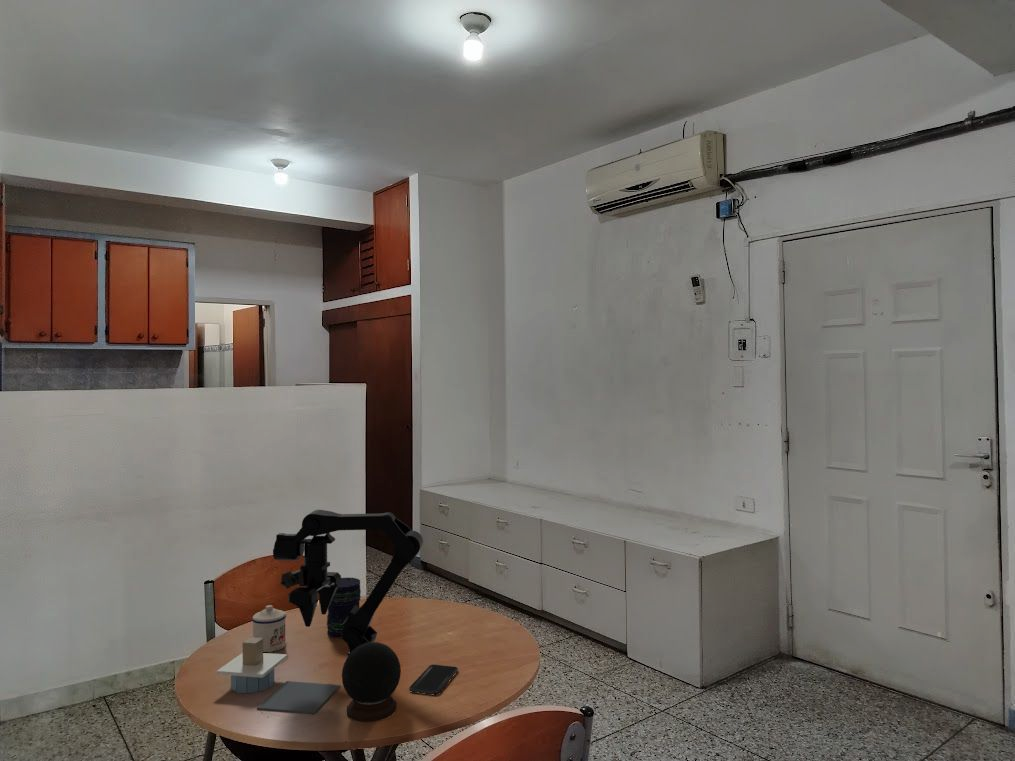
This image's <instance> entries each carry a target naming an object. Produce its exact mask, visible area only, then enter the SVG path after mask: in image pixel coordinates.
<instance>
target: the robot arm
mask: <svg viewBox="0 0 1015 761" xmlns="http://www.w3.org/2000/svg"><path fill="white" fill-rule="evenodd" d="M367 530H368V531H369V530H371V531H372V530H374V531H375V530H376V531H377V530H378V531H379V530H380V531H381V530H382V531H383V533H385V534H386V535H387V537H388V539H389V540H390V541H391V542H392V543H393V544H394V546H396V547H395V550H394V552H393V554H392V557H391V560H390V563H389V564H388V565H387V567H386V569H385V570H384V572H383V574H382V575H381V576H380V578H379V580H377V583H376V584H375V586H374V587H373V588H372V590H371V592H370V594H369V596H368V597H367V598H366V600H365V601H364V603H363V604H362V605H360V608H359V607H357V606H356V605H355V606H354V608H353V609H352V611H351V612H350V614H349V616H348V617H347V618H346V620H345V621H344V623H343V624H342V626H344V627H343V629H342V632H341V634H342V638H341V639H342V640H343V641H344V642H345V643H346V644H347V646H348V649H349V650H348V651H349V652H348V653H347V657H348V656H349V654H350V653H351V652H352V651H353V650H354V649H355V648H357V647H358V646H360V645H362V644H365V643H369V642H376V639H377V636H378V632H377V631H376V629H375V628H373V627H372V626H371V624H372V621H373V619H374V616H375V613H376V611H377V610H378V608H379V606H380V605H381V603H382V602H383V600H384V599H385V597H386V596H387V594H388V593H389V591H390V589H391V588H392V586H393V585H394V583H395V581H396V580H397V578H398V577H399V575H400V573H401V572H402V571H403V570H404V569H405V568H406V567H407V565H409V564H410V563H411V562H412V561H413V559H415V558H416V557H417V555H418V554H419V553H420V550H421V549H422V548H423V544H424V539H423V536H422V534H420V533H419V532H418V531H416V530H412V529H411V528H410V527H409V526H408V525H407V524H406V523H404V522H403V521H402V520H400V519H398V518H397V517H396V516H395V514H394V513H392V512H390V511H389V512H388V511H387V512H383V513H382V512H381V513H376V512H375V513H337V512H334V511H331V510H325V509H315V510H313V511H311V512H310V513H308V514H306V515H305V516H304V517H303V519H302V522H301V528H300V529H299V531H297V533H285V532H284V533H283V532H279V533H278V534H276V535H275V536H276V538H275V540H274V541H275V542H274V545H273V549H272V557H273V560H275V561H298V560H299V559H300V557H304V560H303V563H304V564H302V565H300V569H298V570H294V571H292V572H291V571H290V570H289V571H288V572H285V573H283V574H281V578H280V580H281V581H280V585H282V586H283V587H284V588H285V589H286V590H287V589H290V588H292V587H295V586H296V585H298V587H296V588H295V589H292V590H291V591H290V592H289V594H287V595H288V600H287V601H288V603H289V604H290V603H291V605H293V606H296V607H297V608H298V609H299V612H300V614H301V618H302V620H303V623H304V625H305V627H308V628H309V627H311V625H312V623H313V622H312V621H313V618H314V616H315V612H316V609H317V605H318V601H319V605H320V606H319V607H320V613H321V615H326V614H328V608H329V606H330V603H331V601H332V599H333V597H334V594H335V592H336V590H337V588H338V587H339V585H338V584H340V583H341V578H342V575H341V574H340V573H339V572H336V571H328V568H330V567H331V561H328V544H329V545H331V544H332V543H334V542H335V541H336V537H334V536H332V535H331V534H330V533H333V532H337V531H367ZM308 537H312V538H308ZM334 584H335V585H334ZM318 597H319V598H318ZM318 599H319V600H318Z"/></svg>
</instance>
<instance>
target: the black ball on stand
mask: <svg viewBox="0 0 1015 761" xmlns="http://www.w3.org/2000/svg"><path fill="white" fill-rule="evenodd" d="M401 668H402V667H401V662H400V659H399V657H398V655H397V654H396V652H395V651H394V650H393V649H392V648H391V647H390V646H388V645H387V644H384V643H381V642H379V641H378V642H377V641H374V642H369V643H365V644H362V645H360V646H358V647H357V648H355V649H354V650H353V651H352V652H351V653H350V654H349V656H348V655H347V657H346V659H345V661H344V663H343V667H342V672H341V679H342V681H341V682H342V686H343V688H344V690H345V693H346V694H347V695H348V696H349V697H350V698H351V700H350V702H349V704H348V705H347V706H346V715H347V717H348V718H349V719H350V720H352V721H356V722H360V723H373V722H379V721H382V719H383V720H386V719H388V718H389V716H390V717H392V716H393V715H394V714H393V713H394V712H395V713H396V711H397V702H396V700H395V699H394V698H393V696H392V694H393V693H394V692H395V691H396V689H397V687H398V686H399V683H400V680H401V675H402V674H401V673H402V672H401V671H402V670H401ZM392 714H393V715H392ZM387 717H388V718H387ZM385 718H386V719H385Z"/></svg>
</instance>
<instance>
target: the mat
mask: <svg viewBox="0 0 1015 761" xmlns="http://www.w3.org/2000/svg"><path fill="white" fill-rule="evenodd" d="M339 688H341V685H340V684H329V683H316V682H315V683H314V682H305V681H304V682H302V681H301V682H300V681H291V680H288V681H287V680H286V681H285V682H284V683H283V684H282V685H281V686H280V687H279V688H277V689H276V690H275V691H274V692H273V693H272V694H271V695H269V697H267V698H266V699H265V700H264V701H262V703H260V704H259V705H258V706H256V710H259V711H261V710H263V711H274V712H284V713H285V712H286V713H287V712H288V713H298V714H309V715H310V714H311V715H315V714H316V713H317V712H318V711H319V710H320V709H321V707H323V706H324V705H325V703H327V701H329V699H330V698H331V697H332V696H333V695H334V694H335V693H336V692H337V690H339Z"/></svg>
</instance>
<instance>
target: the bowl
mask: <svg viewBox="0 0 1015 761" xmlns="http://www.w3.org/2000/svg"><path fill="white" fill-rule="evenodd" d="M274 684H275V668H274V669H273V670H272V671H270V672H269V673H268V674H267V675H265V676H264V677H263V678H260V677H246V676H233V675H230V690H231V691H233V692H235V693H237V694H238V693H239V694H253V693H258V692H261V691H263V690H264V691H265V690H266V689H269V688H271V686H272V685H274Z"/></svg>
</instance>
